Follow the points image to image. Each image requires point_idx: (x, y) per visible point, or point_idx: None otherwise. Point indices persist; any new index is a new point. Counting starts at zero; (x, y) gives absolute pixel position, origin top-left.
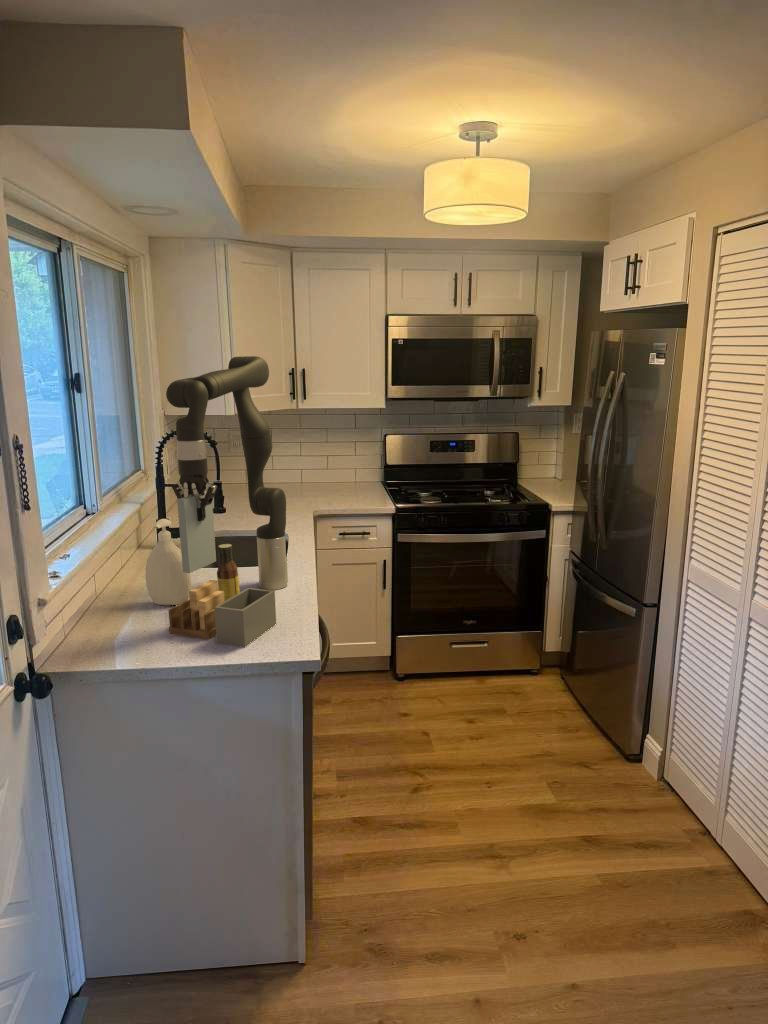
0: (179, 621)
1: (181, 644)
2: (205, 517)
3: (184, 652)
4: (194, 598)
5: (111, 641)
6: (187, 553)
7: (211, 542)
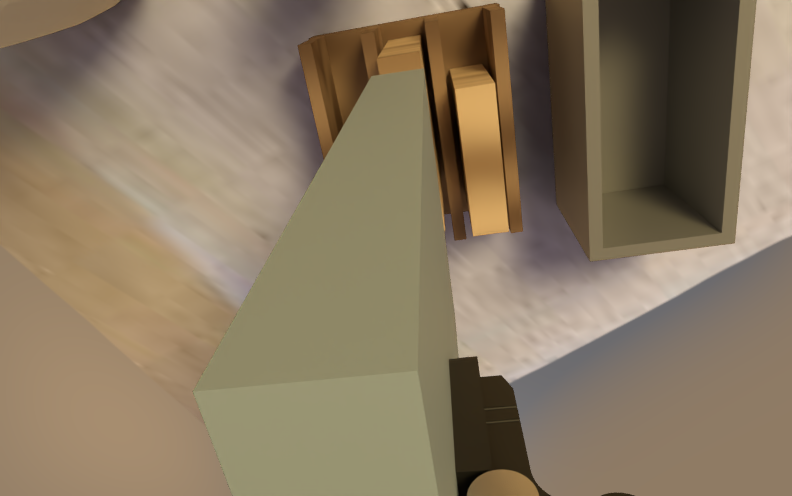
0: None
1: (454, 259)
2: (506, 381)
3: (506, 295)
4: None
5: None
6: None
7: (429, 143)
